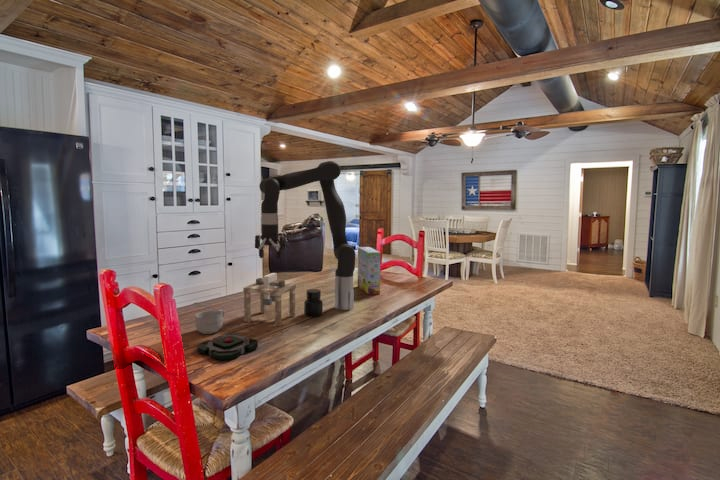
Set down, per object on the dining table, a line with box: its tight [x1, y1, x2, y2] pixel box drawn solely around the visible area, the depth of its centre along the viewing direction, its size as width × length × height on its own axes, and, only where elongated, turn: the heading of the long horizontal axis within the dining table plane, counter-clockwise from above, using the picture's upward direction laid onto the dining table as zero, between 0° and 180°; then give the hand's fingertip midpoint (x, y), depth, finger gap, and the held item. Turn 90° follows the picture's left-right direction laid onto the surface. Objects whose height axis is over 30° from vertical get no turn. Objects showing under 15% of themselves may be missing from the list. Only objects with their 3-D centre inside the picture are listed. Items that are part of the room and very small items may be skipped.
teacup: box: [194, 309, 225, 335], centre depth 162 cm, size 14×11×8 cm
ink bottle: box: [303, 288, 324, 318], centre depth 186 cm, size 10×9×12 cm
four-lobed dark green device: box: [196, 333, 259, 361], centre depth 143 cm, size 18×18×5 cm
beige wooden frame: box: [242, 277, 297, 327], centre depth 178 cm, size 18×16×19 cm
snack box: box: [357, 246, 382, 295], centre depth 235 cm, size 22×9×26 cm, turn 17°
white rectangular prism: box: [262, 272, 278, 306], centre depth 177 cm, size 8×4×13 cm, turn 163°
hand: (270, 258), depth 175 cm, fingers open, 8 cm apart
